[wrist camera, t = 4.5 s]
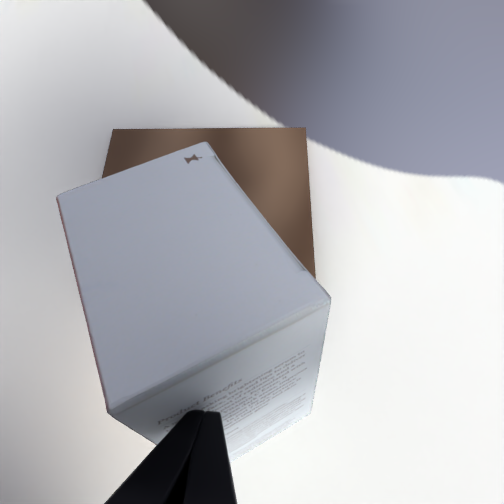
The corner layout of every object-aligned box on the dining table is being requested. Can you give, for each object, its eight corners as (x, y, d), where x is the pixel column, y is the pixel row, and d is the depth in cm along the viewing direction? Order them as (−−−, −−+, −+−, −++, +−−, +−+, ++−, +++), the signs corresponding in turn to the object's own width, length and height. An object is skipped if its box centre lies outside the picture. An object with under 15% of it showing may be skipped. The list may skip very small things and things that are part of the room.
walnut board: (82, 288, 21) (77, 285, 21) (116, 135, 26) (113, 129, 26) (314, 289, 21) (315, 286, 20) (304, 133, 26) (305, 127, 25)
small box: (150, 332, 20) (49, 190, 12) (239, 289, 21) (205, 134, 13) (204, 483, 15) (98, 421, 7) (315, 416, 16) (336, 296, 8)
